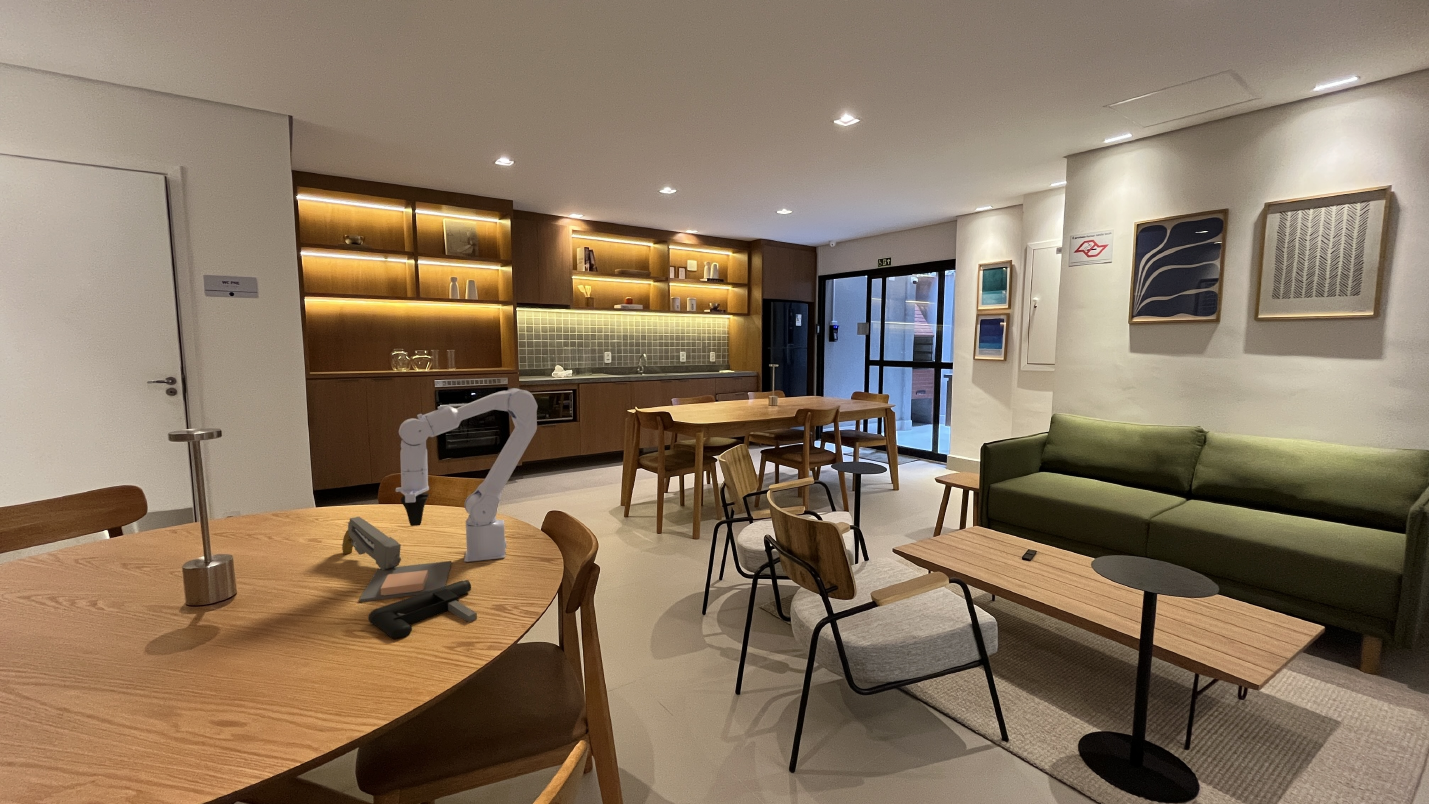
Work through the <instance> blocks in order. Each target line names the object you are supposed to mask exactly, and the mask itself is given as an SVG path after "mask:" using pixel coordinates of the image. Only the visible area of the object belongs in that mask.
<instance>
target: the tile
mask: <svg viewBox="0 0 1429 804" xmlns="http://www.w3.org/2000/svg"><path fill="white" fill-rule="evenodd" d="M427 578H428V570H424V571H415V572H407V573H398V574H389V575H388V576H387V578H386V579H385V581H384V583H383V585H382V587H381V595H384V596H385V595H393V594H401V593H409V592H417V591H422V590H423V589H424V586H425V583H426V581H427Z"/></svg>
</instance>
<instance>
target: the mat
mask: <svg viewBox="0 0 1429 804" xmlns="http://www.w3.org/2000/svg"><path fill="white" fill-rule="evenodd" d="M451 566H452V560H447V561H445V560H444V561H437V562H428V563H420V564H413V565H412V564H409V565H408V564H407V565H401V566H400V565H398V566H397V567H393V568H390V569H386V570H381V568H377V569H376V571H375V573H374V574H373V576H372V578H371V579H370V581H369V582H368V585H367V586H366V587H365V589H364V591H363V592H362V594H361V596H360V597H359V600H358V601H359V603H365V602H373V601H380V600H387V599H388V600H389V599H395V598H404V597H413V596H416V595H420V594H423V593H426V592H429V591H432V590H435V589H438V588H441V587H444V586H447V585H446V584H447V580H448V576H449V574H450V570H451ZM424 570H428V578H427V581H426V583H425V586H424V589H423V590H422V591H417V592H409V593H401V594H393V595H385V596H384V595H381V587H382V585H383V583H384V581H385V579H386V578H387V576H388V575H389V574H398V573H407V572H415V571H424Z"/></svg>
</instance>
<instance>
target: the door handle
mask: <svg viewBox="0 0 1429 804" xmlns="http://www.w3.org/2000/svg"><path fill="white" fill-rule="evenodd" d="M471 590H472V585H471V582H470V580H468V579H465V580H459V581H457V582H453V583H450V584H447V585H445V586H444V587H441V588H438V589H435V590H432V591H429V592H426V593H423V594H420V595H413V596H409V597H408V598H404V599H402V600H399V601H396V602H392V603H390V604H387V605H386V604H385V605H384V606H380V607H376V608H375V609H373V610H371V611H370V612H369V614H368V616H367V617H368V618H367V619H368V622H369V623H370V624H371V625H373V626H376V627H377V628H379V629H380V630H381V631H382V632H384V633H385V634H386V635H388V636H389V637H390V638H392V639H393V640H400V639H403V638H406V637H407V636H409V635H411V633H412V631H413V626H412V625H413V624H416V623H420V622H422V621H424V620H427V619H430V618H433V617H436V616H438V615H440V614H444V613H447V612H449V613H451V614H453V615H454V616H456V617H458V618H460V619H462V620H463V621H466V622H468V623H472V622H474V621H476V620H478V616H477V615H478V613H477V612H476V611H474V610H473V609H471V608H470V607H467V606H466V605H464V603H461V602H459V600H460V599H459V597H462V596H464V595H466V594H468V593H469V592H471Z"/></svg>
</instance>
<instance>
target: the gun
mask: <svg viewBox="0 0 1429 804" xmlns="http://www.w3.org/2000/svg"><path fill="white" fill-rule="evenodd" d="M347 524H348V525H347V530H346V531H345V534H344V535H343V537H342V539H343V540H342V545H341V546H342V547H341V550H342V555H347V554H351V553H352V552H353V548H354V550H355V551H356V553H357V554H358V555H360V556H361V555H365V554H367V555H368V556H369V557H370V558H372V559H373V560H374V561H375V564H376V565H377V566H378V567H379V569H381V570H386V569H390V568H393V567H399V566H400V563H401V561H402V558H401V549H402V547H401V546H402V544H401V543H399V542H398V541H397V540H396V539H395V538H393V537H392V536H388V535H387V534H385V533H383V531H381V530H379V529H378V528H377V527H376V526H374V525H372V524H371V523H370V522H369V521H366V520H365V519H364V518H362V517H360V516H355V517H350V518H349V521H348V523H347Z"/></svg>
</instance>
